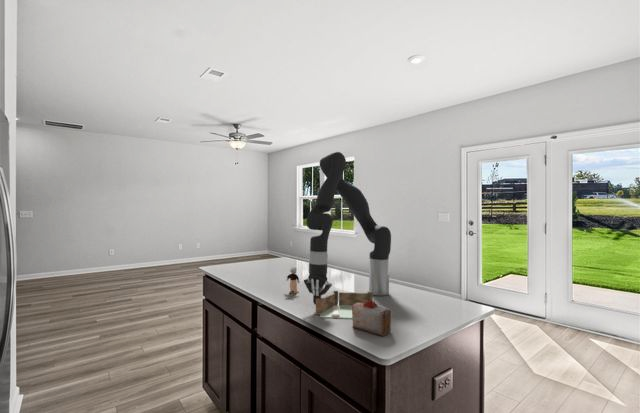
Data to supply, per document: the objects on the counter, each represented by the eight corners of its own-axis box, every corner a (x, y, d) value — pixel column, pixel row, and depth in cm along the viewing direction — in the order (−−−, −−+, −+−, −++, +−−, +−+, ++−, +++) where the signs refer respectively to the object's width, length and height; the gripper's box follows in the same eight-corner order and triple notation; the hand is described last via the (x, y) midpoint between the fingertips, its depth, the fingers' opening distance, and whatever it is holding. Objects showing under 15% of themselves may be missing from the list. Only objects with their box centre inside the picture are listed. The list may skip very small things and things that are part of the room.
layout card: (373, 302, 142) (373, 301, 142) (380, 319, 120) (380, 318, 120) (322, 301, 143) (322, 300, 143) (319, 318, 122) (319, 316, 122)
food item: (348, 327, 113) (348, 300, 113) (360, 321, 119) (360, 295, 119) (382, 338, 104) (382, 308, 104) (393, 331, 110) (394, 302, 110)
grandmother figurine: (301, 292, 157) (302, 266, 157) (298, 294, 153) (299, 267, 153) (287, 290, 160) (287, 265, 159) (284, 292, 156) (284, 266, 156)
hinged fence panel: (334, 302, 138) (334, 290, 138) (339, 303, 137) (339, 291, 137) (314, 313, 125) (314, 299, 125) (319, 314, 123) (319, 300, 123)
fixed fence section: (372, 305, 137) (372, 291, 137) (372, 306, 135) (372, 292, 134) (338, 304, 137) (339, 290, 137) (338, 305, 135) (339, 291, 135)
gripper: (336, 262, 129) (335, 305, 129) (310, 258, 136) (309, 299, 136) (327, 265, 122) (325, 310, 123) (299, 261, 130) (298, 303, 130)
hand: (316, 304), depth 130 cm, fingers closed
